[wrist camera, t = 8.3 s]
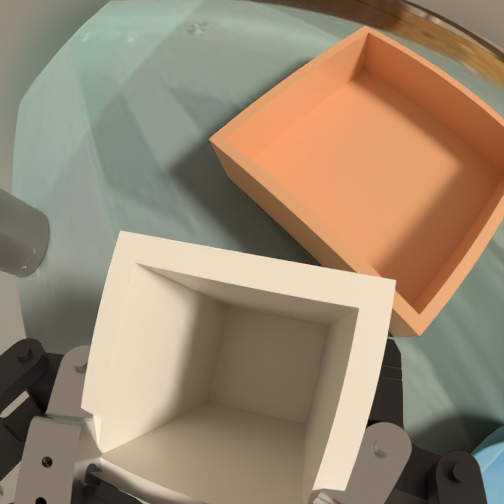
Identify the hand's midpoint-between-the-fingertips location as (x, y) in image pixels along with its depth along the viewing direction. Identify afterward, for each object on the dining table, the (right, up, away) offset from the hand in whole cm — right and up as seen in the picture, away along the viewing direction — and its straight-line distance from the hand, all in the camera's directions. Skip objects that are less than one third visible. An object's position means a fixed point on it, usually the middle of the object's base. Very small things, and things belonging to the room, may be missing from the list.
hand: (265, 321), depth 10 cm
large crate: (+13, +10, +19) cm, 25 cm away
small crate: (0, -3, +4) cm, 5 cm away
